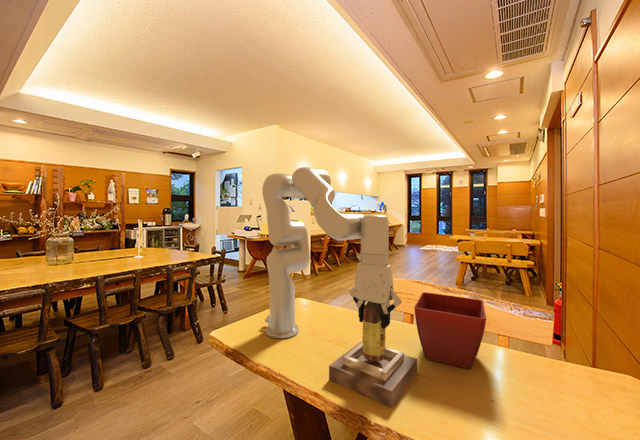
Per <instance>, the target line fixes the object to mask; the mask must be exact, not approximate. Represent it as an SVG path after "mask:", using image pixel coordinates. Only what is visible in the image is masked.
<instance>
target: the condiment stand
mask: <svg viewBox="0 0 640 440" xmlns="http://www.w3.org/2000/svg"><path fill="white" fill-rule="evenodd" d="M417 373H418V358H416V357H413V356H409V355H406V354H405V352H402V351H399V350H397V349H393V348H389V347H387V346H385V356H384V359H383V360H382V361H379V362H373V361H369V360H367V359H365V358H364V356H363V340H360V341H359V342H358V343H356V344H355V345H354V346H352V347H351V348H350V349H349V350H348V351H346V352H344V353H343V354H342V355H341V356H339V357H338V358H337V359H335V360H334V361H333V362H331V363H330V364H329V365H328V380H329V381H331V382H333V383H336V384H337V385H340V386H342V387H344V388H346V389H349V390H351V391H352V392H353V391H354V392H355V393H357V394H360V395H362V396H364V397H366V398H369V399H371V400H373V401H375V402H378V403H380V404H382V405H383V406H387V407H389V408H391V409H392V408H393V407H394V406H395V404H396V403H397V401H398V400H399V398H400V397H401V396H402V395H403V393H404V392H405V391H406V389H407V387H408V386H409V385H410V383H411V382H412V380H413V379H414V377H416V375H417Z"/></svg>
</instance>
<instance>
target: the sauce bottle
mask: <svg viewBox="0 0 640 440" xmlns="http://www.w3.org/2000/svg"><path fill="white" fill-rule="evenodd" d="M365 305H366V306H365V307H364V309H363V322H362V341H363V356H364V358H365V359H367V360H369V361H373V362H379V361H382V360H383V359H384V356H385V347H386V328H385V329H384V328H382V314H383V313H384V311H383V309H382V306H381V304H377V303H373V302H368V301H366V303H365Z"/></svg>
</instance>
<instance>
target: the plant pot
mask: <svg viewBox="0 0 640 440" xmlns="http://www.w3.org/2000/svg"><path fill="white" fill-rule="evenodd" d="M413 308H414V316H415V317H414V318H415V322H416V329H417V335H418V338H419V341H420V347H421V349H422V352H423V354H424V355H423V356H424V358H425V359H427V360H430V361H433V362H434V361H435V362H439V363H442V364H446V365H451V366H455V367H458V368H461V369H465V370H466V369H467V370H470V369H472V367H473V365H474V364H475V361H476V358H477V356H478V354H479V352H480V351H479V350H480V347H481V344H482V341H483V337H484V333H485V328H486V323H487V315H486V310H485V303H484V300H482V299H477V298H476V299H475V298H469V297H461V296H455V295H447V294H441V293H440V294H439V293H434V292H433V293H432V292H426V291H425V292H424V291H423V292H422V293H421V294H420V296H419V298H418V299H417V301H416V304H415V305H414V307H413Z"/></svg>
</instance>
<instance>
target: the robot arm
mask: <svg viewBox="0 0 640 440" xmlns="http://www.w3.org/2000/svg"><path fill="white" fill-rule="evenodd" d="M331 183H332V179H331V176H330V175H329V173H328V172H327V171H326V170H324V169H321V168H314V167H308V166H302V167H299V168H297V169H296V170H295V171H294V172H293V173H292V174H290V173H279V172H278V173H272V174H269V175H268V176H267V177H266V178H265V180H264V181H263V183H262V190H261V191H262V198H263V202H264V205H265V210H266V220H267V231H268V232H267V233H268V240H269V242H270V244H272V245H273V246H276V247H277V246H278V247H279V246H280V247H281V246H290V248H281V249H280V248H279V249H276V250H273V251H272V252H270V253H269V254H268V256H267V257H266V267H267V273H268V282H269V314H268V315H267V316H266V318H265V319H264V322H265V323H267V324H268V326H267V327H266V328H265V334H266V336H268V337H270V338H273V339H288V338H292V337H294V336H296V335H298V333H299V332H300V326H299V325H297V324H296V312H295V311H296V307H295V306H296V301H295V300H296V298H295V297H296V296H295V295H296V294H295V293H296V292H295V287H296V286H295V282H294V280H293V278H292V277H291V274H293V273H298V272H301V271H304V270H306V269H307V268H308V267H309V265H310V261H311V257H310V244H309V235H308V234H309V233H308V228H307V227H306V225H305V224H304V223H303V222H302V221H300V220H291V219H290V210H289V207H288V204H287V202H286V201H285V200H284V198H285V197H287V198H305V199H306V200H307V201H308V202H309V203H310V204H311V205H312V206H313V215H314V219H315V222H316V223H317V225H318V226H319V227H320V229H321V230H323V232H325V234H326V235H327V236H329V238H331V239H334V240H335V241H341V242H342V241H349V240H358V239H360V253H357V255H356V258H357V259H359V262H358V263H357V267H356V271H355V277H354V285H353V287H352V288H351V289H350V290H349V291H348V293H349V295H350V296H351V298H352V300H353V301H354V303H355V304H356V306H357V308H358V318H359V319H358V320H359V321H358V322H359V323H363V309H364V307H365V306H366V304H367V302H373V303H377V304H381V306H382V309H383V311H384V313H383V314H382V328H384V329H385V330H386V329H387V328H388V327H389V326H390V323H391V312H392V311H394V310H395V309H396V308H397V307H399V306H400V305H401V304H402V303H403V300H402V299H401V298H400V297H399V295H398V294H397V293H396V292H395V290H394V279H393V272H392V271H393V270H392V267H391V264H389V239H390V237H389V234H390V233H389V232H390V231H389V230H390V229H389V228H390V225H389V223H390V221H389V217H388V216H387V215H384V214H362V213H340V212H339V211H338V210H337V209H336V208H335V207H333V206H332V203H333V202H334V201H335V198H336V192H335V191H336V190H335V189H334V188H333V187H332V186H331ZM283 197H284V198H283ZM390 301H393V303H390Z"/></svg>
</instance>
